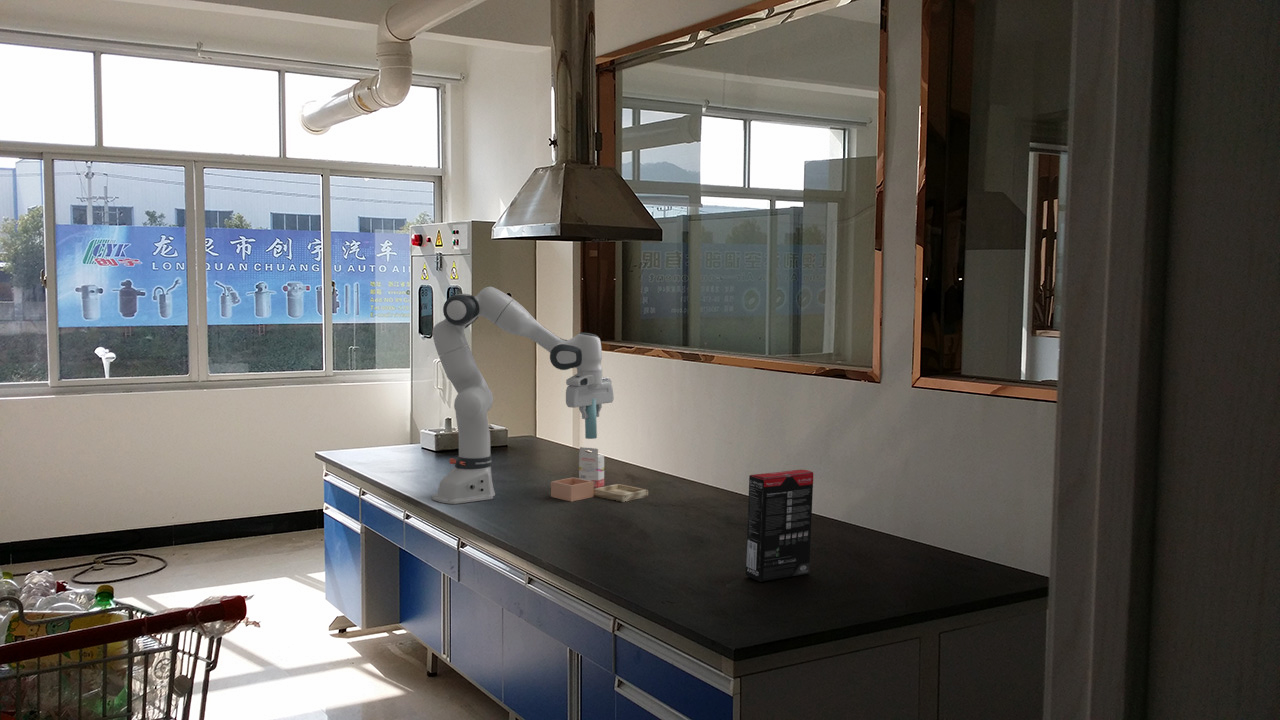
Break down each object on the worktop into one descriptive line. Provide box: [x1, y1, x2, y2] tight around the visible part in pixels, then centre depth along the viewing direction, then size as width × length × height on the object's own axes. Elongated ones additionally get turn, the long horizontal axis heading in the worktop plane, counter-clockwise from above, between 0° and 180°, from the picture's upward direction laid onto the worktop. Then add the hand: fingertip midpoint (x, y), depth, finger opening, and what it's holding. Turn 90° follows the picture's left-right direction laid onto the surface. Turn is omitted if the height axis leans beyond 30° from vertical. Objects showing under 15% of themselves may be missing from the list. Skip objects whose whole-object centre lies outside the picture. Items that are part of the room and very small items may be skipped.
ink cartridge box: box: [578, 446, 605, 489], centre depth 369 cm, size 9×5×15 cm, turn 62°
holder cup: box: [550, 477, 595, 502], centre depth 350 cm, size 11×11×6 cm
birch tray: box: [593, 483, 649, 503], centre depth 352 cm, size 13×15×2 cm
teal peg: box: [584, 399, 598, 440], centre depth 349 cm, size 4×4×14 cm
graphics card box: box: [745, 469, 814, 583], centre depth 256 cm, size 17×7×27 cm, turn 123°
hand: (590, 417), depth 349 cm, fingers closed on teal peg, 4 cm apart
